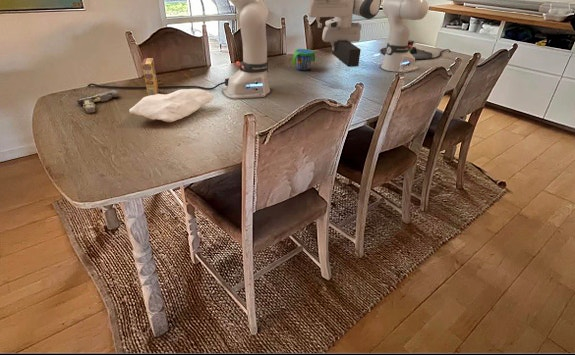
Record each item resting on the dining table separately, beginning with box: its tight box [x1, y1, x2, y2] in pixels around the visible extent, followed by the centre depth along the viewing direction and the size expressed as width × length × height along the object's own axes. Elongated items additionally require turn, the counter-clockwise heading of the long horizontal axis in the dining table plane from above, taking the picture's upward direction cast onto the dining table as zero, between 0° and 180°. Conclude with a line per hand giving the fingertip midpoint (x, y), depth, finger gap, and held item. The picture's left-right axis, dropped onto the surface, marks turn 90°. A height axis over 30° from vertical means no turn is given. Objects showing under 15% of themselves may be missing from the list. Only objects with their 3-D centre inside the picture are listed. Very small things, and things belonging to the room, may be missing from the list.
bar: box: [331, 40, 362, 68], centre depth 187 cm, size 26×6×8 cm, turn 12°
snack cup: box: [291, 48, 316, 71], centre depth 207 cm, size 16×10×10 cm
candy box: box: [141, 57, 160, 96], centre depth 163 cm, size 9×4×15 cm, turn 13°
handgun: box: [76, 89, 120, 114], centre depth 155 cm, size 3×18×15 cm
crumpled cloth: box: [129, 88, 214, 123], centre depth 147 cm, size 24×35×9 cm
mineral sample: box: [380, 39, 433, 59], centre depth 249 cm, size 35×35×9 cm
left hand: (329, 27), depth 170 cm, fingers open, 8 cm apart
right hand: (339, 50), depth 195 cm, fingers closed on bar, 5 cm apart
